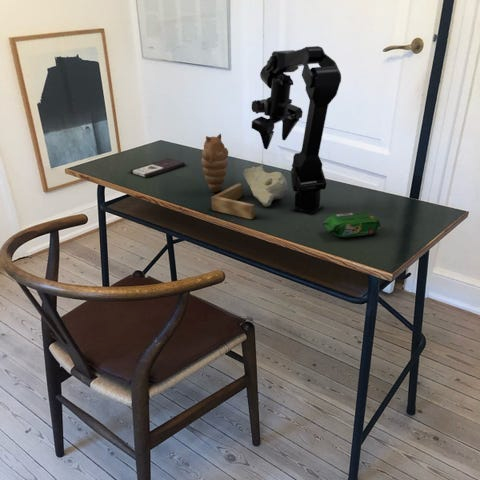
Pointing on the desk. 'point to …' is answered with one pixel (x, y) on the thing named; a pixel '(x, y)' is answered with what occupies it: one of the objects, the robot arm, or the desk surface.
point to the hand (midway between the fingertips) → (274, 144)
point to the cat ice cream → (214, 162)
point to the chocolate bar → (157, 167)
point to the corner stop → (232, 203)
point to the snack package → (352, 224)
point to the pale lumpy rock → (265, 184)
